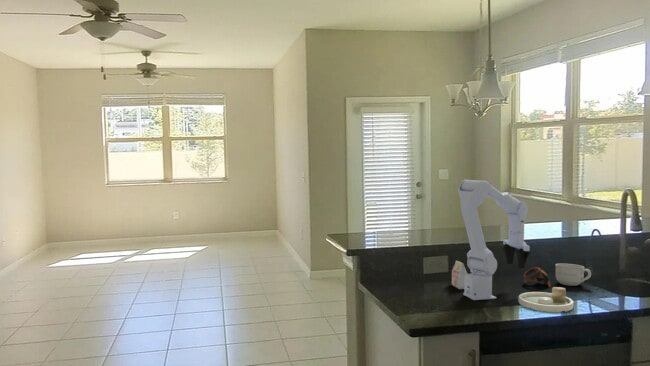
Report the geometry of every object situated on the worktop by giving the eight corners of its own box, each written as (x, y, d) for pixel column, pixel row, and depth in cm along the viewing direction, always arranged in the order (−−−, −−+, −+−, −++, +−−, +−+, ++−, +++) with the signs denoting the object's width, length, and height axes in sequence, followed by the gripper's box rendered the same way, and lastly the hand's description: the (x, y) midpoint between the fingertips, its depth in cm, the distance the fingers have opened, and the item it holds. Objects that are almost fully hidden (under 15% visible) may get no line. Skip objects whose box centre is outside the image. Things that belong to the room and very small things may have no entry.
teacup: (549, 282, 216) (549, 263, 216) (567, 279, 221) (568, 261, 220) (578, 290, 204) (578, 270, 203) (597, 287, 208) (597, 267, 208)
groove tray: (539, 313, 175) (539, 307, 175) (509, 299, 192) (509, 293, 192) (584, 309, 179) (584, 304, 179) (550, 296, 196) (551, 290, 196)
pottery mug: (551, 290, 206) (541, 272, 205) (529, 297, 211) (518, 280, 210) (553, 276, 216) (544, 259, 215) (532, 283, 221) (522, 267, 220)
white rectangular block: (460, 284, 213) (460, 260, 213) (467, 288, 207) (467, 263, 206) (451, 284, 213) (451, 260, 212) (458, 289, 206) (459, 264, 206)
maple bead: (557, 303, 184) (557, 290, 184) (549, 299, 188) (549, 287, 188) (568, 302, 185) (568, 289, 185) (559, 299, 189) (560, 286, 189)
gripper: (536, 233, 198) (536, 269, 198) (514, 228, 212) (513, 261, 212) (520, 234, 196) (519, 270, 197) (498, 229, 210) (498, 262, 211)
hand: (515, 266), depth 204 cm, fingers open, 7 cm apart
